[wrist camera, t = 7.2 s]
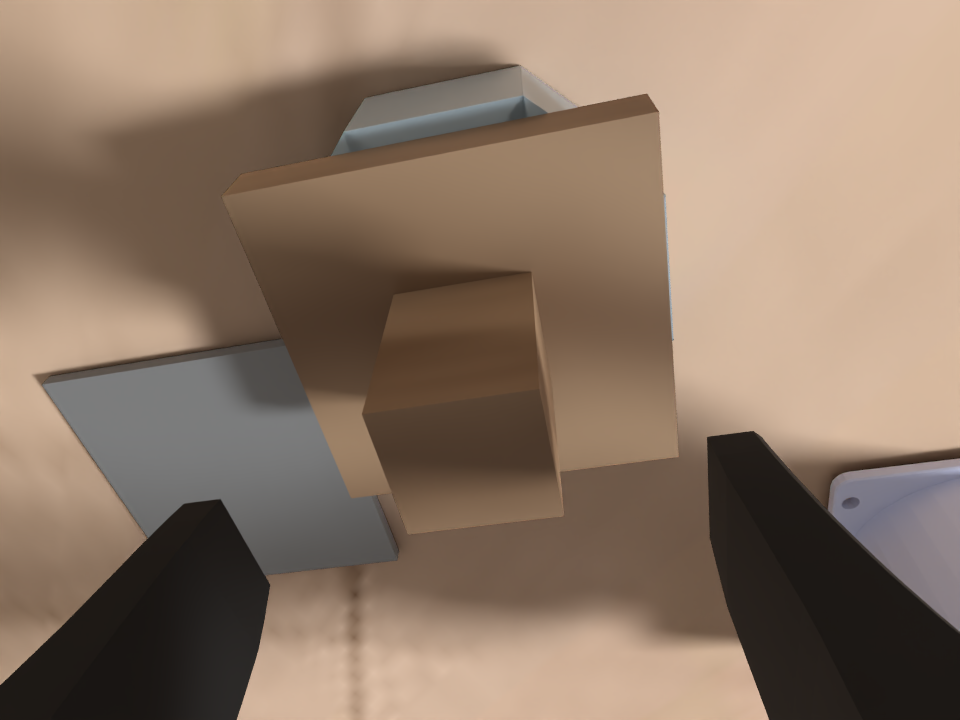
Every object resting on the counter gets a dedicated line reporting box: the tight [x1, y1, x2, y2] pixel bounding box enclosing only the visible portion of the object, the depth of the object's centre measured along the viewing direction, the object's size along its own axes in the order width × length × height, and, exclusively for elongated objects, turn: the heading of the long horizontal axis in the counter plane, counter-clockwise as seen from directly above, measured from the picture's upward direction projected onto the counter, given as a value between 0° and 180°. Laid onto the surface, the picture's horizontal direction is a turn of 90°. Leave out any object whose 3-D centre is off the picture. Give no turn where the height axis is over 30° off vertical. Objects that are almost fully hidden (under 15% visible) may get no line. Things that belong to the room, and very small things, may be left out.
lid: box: [221, 94, 679, 535], centre depth 14 cm, size 8×8×5 cm
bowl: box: [331, 65, 674, 341], centre depth 17 cm, size 8×8×2 cm
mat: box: [42, 339, 399, 575], centre depth 22 cm, size 9×8×1 cm
